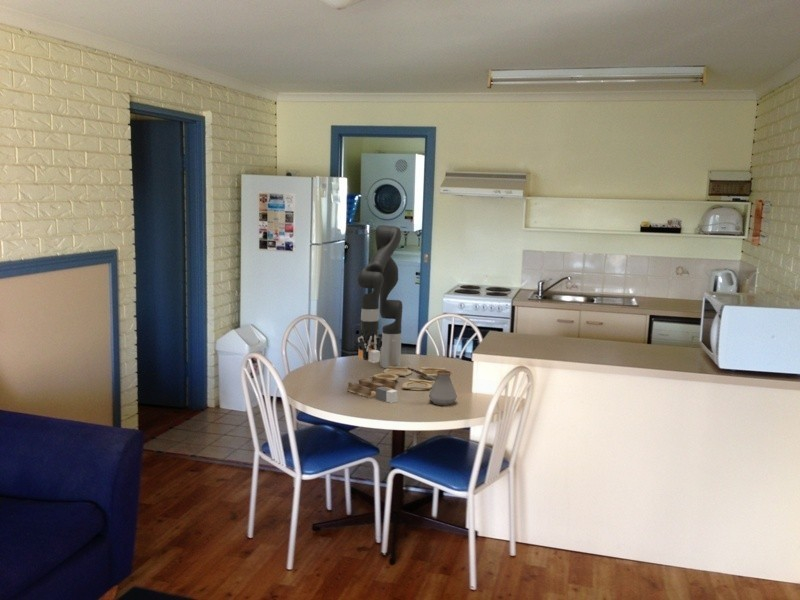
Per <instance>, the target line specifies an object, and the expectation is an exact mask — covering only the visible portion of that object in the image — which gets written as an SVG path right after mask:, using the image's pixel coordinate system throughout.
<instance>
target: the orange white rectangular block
mask: <svg viewBox="0 0 800 600" xmlns="http://www.w3.org/2000/svg"><path fill="white" fill-rule="evenodd" d="M365 348H366V346H365ZM380 352H381V350H378V349H376V350H375V349H371V348H370V347H369V349H368V360H364V359H363V351H362V350H359V349H358V355H357V359H361V360H363V361H366V362H370V363H373V364H375V363H379V362H380Z"/></svg>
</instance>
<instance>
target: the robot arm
mask: <svg viewBox="0 0 800 600" xmlns="http://www.w3.org/2000/svg"><path fill="white" fill-rule="evenodd" d="M374 235H375V236H374V238H375V239H374V241H375V246H376V251H375V252H374V253H373V254H372V256H371V258H370V260H369V262H368V263H367V265H365V267H363V269H362V270H361V271H360V272H359V274H358V277H357V284H358V286H359V287H360V288H363V289H373V290H372V292H370V293H365V294H363V295H362V297H361V312H360V330H361V336H359V337H356V343H357V346H358V351H359V350H362V351H363V359H364V360H363V359H362V360H363V361H366V360H368V349H369V348H371V349H375V350H378V348H380V360H379V362H380V363H379V366H380V367H382V368H383V369H388V368H387V366H392V367H401V363H402V362H401V359H402V318H403V317H402V316H403V309H404V308H403V302H402V301H401V300H400V299H388V296H389V295H390V293H391V292H392V290H393V289H394V288H395V287H396V285H397V284H398V281H399V268H398V265H397V263H396V261H395V260H394V259H393V257H392V255H393V254H394V252H395V251H396V250H397V248H398V247H399V245H400V243H401V239H402V231H401V228H399V227H398V226H394V225H384V224H383V225H381V224H379V225H377V227H376V229H375V234H374ZM380 317H381V319H389V320H394V321H393V322H392V323H388V324H385V325H383V327H382V332H381V333H379V332H378V331H379V329H380V327H379V325H380ZM380 346H381V347H380ZM365 347H366V348H365Z"/></svg>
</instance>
